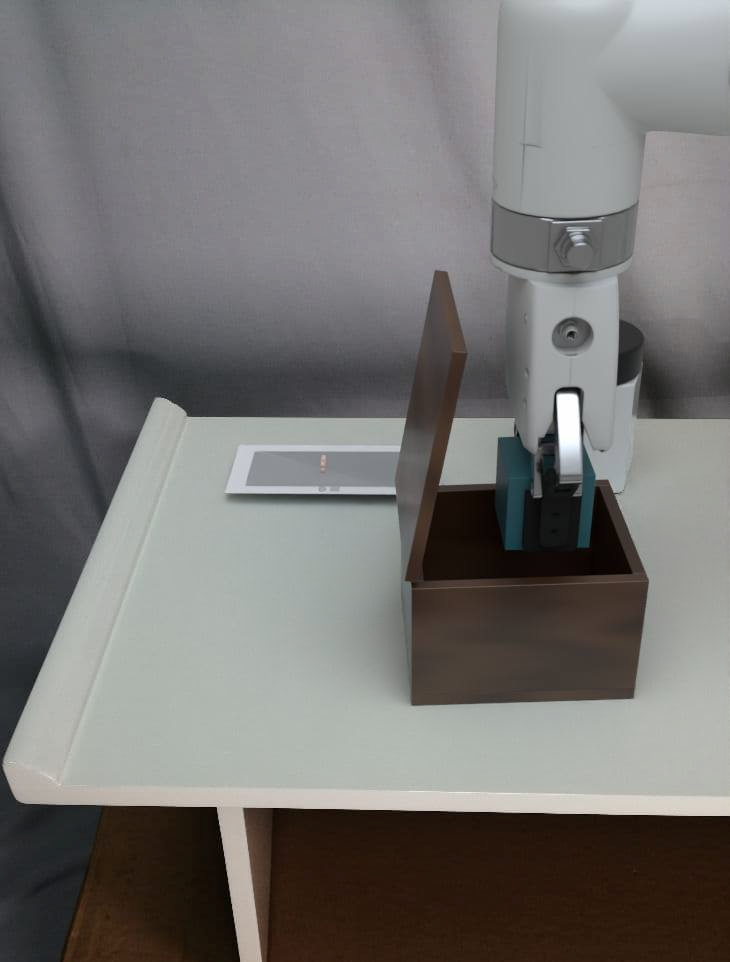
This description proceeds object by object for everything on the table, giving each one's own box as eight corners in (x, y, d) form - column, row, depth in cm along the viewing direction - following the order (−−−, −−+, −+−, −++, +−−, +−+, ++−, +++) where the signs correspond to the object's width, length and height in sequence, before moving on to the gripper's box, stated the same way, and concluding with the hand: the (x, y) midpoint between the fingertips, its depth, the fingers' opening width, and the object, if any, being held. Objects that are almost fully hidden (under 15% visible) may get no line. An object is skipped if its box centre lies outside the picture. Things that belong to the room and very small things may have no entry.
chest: (597, 588, 82) (608, 478, 77) (633, 698, 72) (649, 580, 67) (401, 594, 82) (400, 486, 77) (411, 705, 72) (411, 589, 67)
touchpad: (240, 456, 99) (238, 433, 98) (417, 457, 98) (417, 434, 97) (226, 504, 93) (223, 481, 92) (415, 506, 92) (415, 482, 90)
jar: (611, 442, 99) (625, 308, 92) (650, 491, 92) (668, 349, 85) (508, 455, 98) (515, 319, 91) (540, 505, 91) (549, 362, 84)
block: (574, 504, 74) (580, 433, 71) (589, 548, 70) (596, 474, 67) (494, 506, 74) (497, 436, 71) (504, 550, 70) (508, 478, 67)
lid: (448, 271, 69) (434, 269, 69) (468, 352, 59) (452, 350, 59) (406, 481, 77) (394, 479, 77) (418, 583, 67) (404, 581, 67)
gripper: (674, 288, 55) (634, 604, 65) (601, 181, 69) (578, 453, 79) (512, 294, 55) (497, 608, 65) (473, 187, 69) (466, 457, 79)
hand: (541, 520), depth 72 cm, fingers closed on block, 5 cm apart
